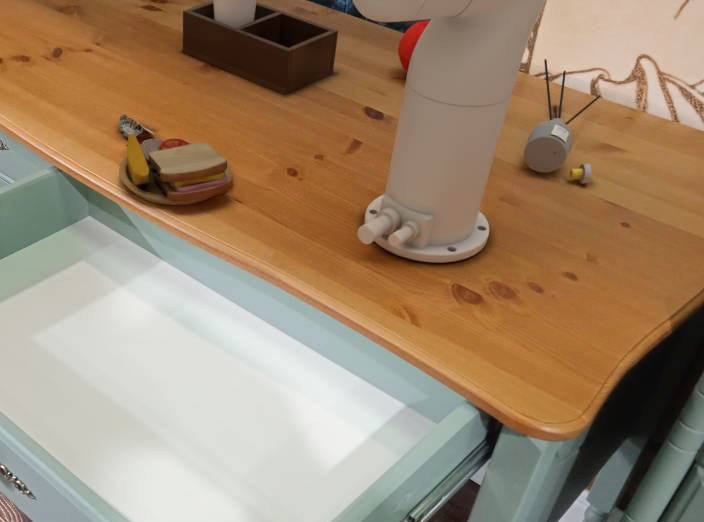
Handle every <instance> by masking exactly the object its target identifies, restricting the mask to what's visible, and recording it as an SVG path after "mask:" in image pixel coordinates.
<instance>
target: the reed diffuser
mask: <svg viewBox="0 0 704 522" xmlns="http://www.w3.org/2000/svg"><path fill="white" fill-rule="evenodd" d="M547 61H548V60H547V58H545V59H544V60H543V63H544V72H545V83H546V84H545V85H546V93H547V94H546V95H547V104H548V114H549V115H548V116H549V117H548V118H549V119H548V120H545V121H542V122H540V123H539V124H537V125H535V127H534V128H532V131H531V132H530V133H529V135H528V138H527V141H526V143H525V147H524V150H523V160H524V162H525V163H526V165H527V167H529V168H530V169H531V170H533V171H535V172H538V173H543V174H544V173H552V172H555V171H557V170H559V169H560V168H561V167H562V166H563V165H564V164H565V162H566V160H567V158H568V156H569V153H570V152H571V148H572V146H573V142H574V137H573V135H574V134H573V132H572V130H571V128H570V127H569V126H568V125H569V124H570V123H571V122H573V121H574V119H576V118H577V117H578V116H579V115H581V114H582V113H583V112H584V111H585V110H586V109H588V108H589V107H590V106H591V105H593V104H594V103H595V102H596V101H598V100H599V99H600V98H601V95H600V94H598V96H596V97H595V98H594V99H592V101H590V102H589V103H588V104H587V105H586V106H584V107H583V108H582V109H580V110H579V111H578V112H577V113H576V114H575V115H573V116H572V117H571V118H569V119H568V120H567V121H566V122H565V121H564V120H563V119H562V118H561V116H562V108H563V107H562V105H563V101H564V100H563V99H564V91H565V83H566V73H567V71H566V70H564V71H563V73H562V82H561V90H560V98H559V106H558V107H557V105H555V106H554V107H553V108H554V118H553V113H552V103H551V91H550V81H549V71H548V70H549V69H548V62H547ZM592 174H593V170H592V164H590V163H581V164H580V166H579V168H571V170H570V171H569V179H570V180H578V182H579V183H580V184H589V183H590V182H591V180H592Z"/></svg>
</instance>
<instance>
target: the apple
mask: <svg viewBox="0 0 704 522" xmlns="http://www.w3.org/2000/svg"><path fill="white" fill-rule="evenodd" d="M430 21H431V19H429V20H420V21H418V22H416V23H414V24H412V25H411V26H410V27H409V28H408V29H407V30H406V31H405V33H403V35H402V37H401V38H400V40H399V44H398V48H397V49H398V50H397V53H398V58H399V61H400V64H401V67H402V68H403V70H404V71H405V72H406V74H407V73H408V68H409V64H410V60H411V56H412V53H413V51H414V48H415V46H416V44H417V42H418V40H419V38H420V36H421V35H422V33H423V31H424V30H425V28H426V27H427V25H428V24H429V22H430Z"/></svg>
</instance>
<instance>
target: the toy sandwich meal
mask: <svg viewBox="0 0 704 522" xmlns="http://www.w3.org/2000/svg"><path fill="white" fill-rule="evenodd" d="M137 138H138V137H137V136H135V135H134V134H129V137H127V149H126V151H127V152H126V153H127V154H126V156H125V158H123V160H122V161H121V163H120V166H119V171H118V173H119V177H120V179H121V182H122V183H123V184H124V185H125V187H127V189H129V190H130V191H131V192H132V193H134V194H135V195H136V196H138V197H140V198H142V199H143V200H146V201H149V202H151V203H155V204H158V205H159V204H160V205H166V206H184V205H185V206H186V205H191V204H197V203H201V202H204V201H206V200H209V199H210V198H212V197H216V196H218V195H221V194H224V193H225V192H229V191H230V190H232V189H233V188H234V180H233V178H232V167H231V164H230V162H229V161H228V159H227V158H226V157H225V156H224V155H222V154H221V153H220V152H218V151H216V150H215V149H214V148H213V147H212V146H211V145H210V143H208V142H207V141H203V142H196V143H194V142H188V141H187V140H185V139H181V138H175V137H173V138H168V139H165V140H162V139H159V138H149V139H145V140H144V141H142V142H141V143H140V142H139V141H138V139H137Z"/></svg>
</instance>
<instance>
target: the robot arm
mask: <svg viewBox="0 0 704 522" xmlns="http://www.w3.org/2000/svg"><path fill="white" fill-rule="evenodd" d="M352 2H353V5H354V6H355V8H356V10H357V11H358V12H359V14H360V15H362V16H363V17H365V18H366V19H369V20H371V21H374V22H379V23H396V22H397V23H398V22H400V23H401V22H414V21H426V20H429V21H430V20H431V21H430V22H429V24H428V25H427V27H426V28H425V30H424V31H423V33H422V35H421V36H420V38H419V40H418V42H417V44H416V46H415V48H414V51H413V53H412V56H411V60H410V64H409V68H408V73H407V72H406V79H405V85H404V89H403V93H402V98H401V105H400V110H399V115H398V120H397V125H396V126H397V127H396V130H395V137H394V142H393V146H392V153H391V158H390V162H389V168H388V173H387V179H386V184H385V188H384V189H385V190H384V193H383V194H382V195H379V196H378V197H376V198H375V199H373V200H372V201H371V202H370V203H369V204H368V205H367V207H366V210H365V214H364V218H363V219H364V220H363V224H362V225H360V226H359V228H358V229H357V233H356V234H357V238H358V239H359V241H360V242H361V243H363V244H364V245H370V244H372V243H374V242H375V243H376V244H377V245H378V246H379V247H381V248H383V249H384V250H386V251H387V252H389V253H392V254H394V255H396V256H399V257H402V258H405V259H408V260H411V261H412V260H413V261H418V262H424V263H433V264H434V263H435V264H436V263H437V264H440V263H451V262H458V261H462V260H465V259H468V258H470V257H473V256H475V255H476V254H478V253H479V252H481V251H482V250H483V249H484V247H485V246H486V244H487V241H488V238H489V236H490V229H491V228H490V224H489V221H488V219H487V218H486V216H485V215H484V214H483V212H482V211H480V209H481V206H482V203H483V198H484V195H485V191H486V188H487V183H488V180H489V176H490V173H491V170H492V166H493V163H494V159H495V155H496V153H497V149H498V145H499V141H500V138H501V135H502V131H503V127H504V123H505V121H506V117H507V113H508V110H509V106H510V103H511V98H512V95H513V92H514V90H515V89H514V88H515V86H516V81H517V78H518V76H519V71H520V68H521V65H522V63H523V58H524V54H525V53H526V49H527V46H528V43H529V41H530V38H531V35H532V32H533V30H534V27H535V25H536V24H537V23H536V22H537V21H538V19H539V16H540V14H541V11H542V10H543V8H544V6H545V4H546V2H547V0H352Z"/></svg>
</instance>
